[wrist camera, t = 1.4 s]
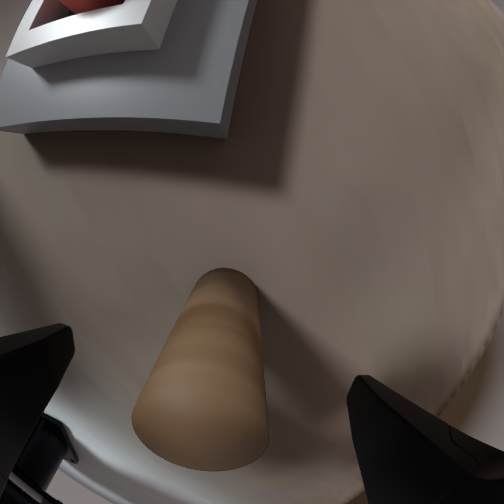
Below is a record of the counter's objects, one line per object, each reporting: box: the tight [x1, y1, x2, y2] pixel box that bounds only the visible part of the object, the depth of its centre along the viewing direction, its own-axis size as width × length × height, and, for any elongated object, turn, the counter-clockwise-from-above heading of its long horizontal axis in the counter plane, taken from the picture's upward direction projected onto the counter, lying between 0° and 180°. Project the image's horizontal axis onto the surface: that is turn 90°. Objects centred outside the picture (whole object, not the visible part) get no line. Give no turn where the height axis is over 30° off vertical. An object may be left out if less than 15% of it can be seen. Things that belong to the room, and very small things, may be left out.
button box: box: [0, 0, 257, 139], centre depth 7 cm, size 12×12×5 cm
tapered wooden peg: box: [132, 268, 269, 471], centre depth 9 cm, size 3×3×8 cm
